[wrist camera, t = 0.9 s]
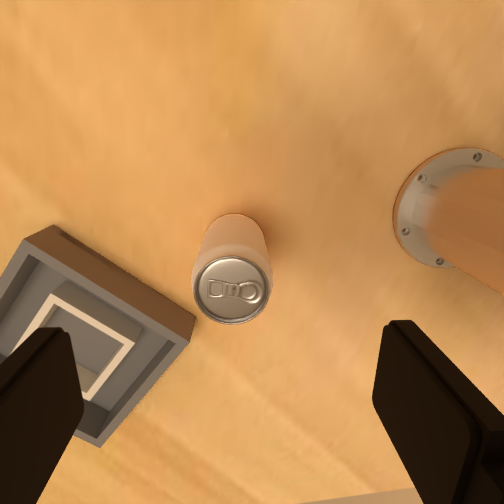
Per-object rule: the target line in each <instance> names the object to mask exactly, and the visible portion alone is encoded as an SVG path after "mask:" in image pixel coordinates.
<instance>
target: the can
mask: <svg viewBox="0 0 504 504" xmlns="http://www.w3.org/2000/svg"><path fill="white" fill-rule="evenodd" d="M191 286H192V291H193V294H194V298H195V301H196V304H197V306H198V307H199V309H200V310H201V311H202V312H203V313H204V314H205V315H206V316H207V317H208V318H210V319H212V320H214V321H216V322H218V323H222V324H228V325H235V324H241V323H245V322H248V321H250V320H252V319H253V318H255V317H256V316H258V315H259V314H260V313H261V312H262V310H263V309H264V308H265V306H266V304H267V302H268V299H269V296H270V294H271V291H272V287H273V275H272V269H271V265H270V260H269V256H268V252H267V248H266V243H265V239H264V236H263V233H262V231H261V229H260V227H259V226H258V225H257V223H256V222H255V221H253V220H252V219H250V218H249V217H247V216H244V215H240V214H228V215H224V216H221V217H219V218H218V219H216V220H215V221H214V222H213V223H212V224H211V225H210V226H209V227H208V229H207V231H206V233H205V236H204V238H203V241H202V244H201V247H200V250H199V252H198V255H197V258H196V261H195V264H194V267H193V271H192V276H191Z"/></svg>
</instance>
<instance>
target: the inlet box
mask: <svg viewBox="0 0 504 504" xmlns="http://www.w3.org/2000/svg"><path fill="white" fill-rule="evenodd" d="M195 318H196V317H195V316H194V315H192V314H191V313H189V312H188V311H186V310H185V309H183V308H182V307H180V306H178V305H177V304H175V303H174V302H172V301H171V300H169V299H168V298H166V297H164V296H163V295H161V294H160V293H158V292H157V291H155V290H154V289H152V288H151V287H149V286H147V285H146V284H144V283H143V282H141V281H140V280H138V279H137V278H135V277H133V276H132V275H130V274H129V273H127V272H126V271H124V270H123V269H121V268H120V267H118V266H116V265H115V264H113V263H112V262H110V261H109V260H107V259H106V258H104V257H102V256H101V255H99V254H98V253H96V252H95V251H93V250H92V249H90V248H89V247H87V246H85V245H84V244H82V243H81V242H79V241H78V240H76V239H75V238H73V237H71V236H70V235H68V234H67V233H65V232H64V231H62V230H61V229H59V228H58V227H56V226H54V225H51V226H49V227H47V228H45V229H43V230H41V231H39V232H37V233H35V234H33V235H30V236H28V237H26V238H24V239H23V240H22V242H21V243H20V245H19V247H18V249H17V250H16V252H15V254H14V255H13V257H12V259H11V260H10V262H9V264H8V265H7V267H6V269H5V270H4V272H3V274H2V275H1V277H0V364H1V363H2V362H3V361H4V360H5V359H6V358H7V357H8V356H9V355H10V354H11V353H12V352H13V351H14V350H15V349H16V348H17V347H18V346H19V345H20V344H22V343H23V342H24V341H25V340H26V339H27V338H28V337H29V336H30V335H31V334H32V333H33V332H34V331H35V330H36V329H37V328H40V327H61V328H62V329H63V330H64V332H68V333H69V334H70V338H71V343H72V347H73V352H74V357H75V362H76V367H77V372H78V377H79V382H80V386H81V391H82V396H83V401H84V413H83V417H82V419H81V421H80V423H79V425H78V426H77V428H76V430H75V432H74V434H73V435H74V436H76V437H78V438H80V439H82V440H84V441H86V442H89V443H91V444H93V445H95V446H97V447H99V448H101V446H102V445H103V444H104V443H105V442H106V440H107V439H108V438H109V437H110V436H111V435H112V433H113V432H114V431H115V430H116V429H117V427H118V426H119V425H120V424H121V423H122V422H123V420H124V419H125V418H126V417H127V416H128V414H129V413H130V412H131V411H132V410H133V409H134V407H135V406H136V405H137V404H138V403H139V401H140V400H141V399H142V398H143V397H144V396H145V394H146V393H147V392H148V391H149V390H150V388H151V387H152V386H153V385H154V384H155V383H156V381H157V380H158V379H159V378H160V377H161V375H162V374H163V373H164V372H165V371H166V370H167V368H168V367H169V366H170V365H171V364H172V362H173V361H174V360H175V359H176V358H177V357H178V355H179V354H180V353H181V352H182V351H183V349H184V348H185V347H186V346H187V345H188V344H189V342H190V339H191V335H192V331H193V327H194V322H195Z"/></svg>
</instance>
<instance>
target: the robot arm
mask: <svg viewBox="0 0 504 504" xmlns="http://www.w3.org/2000/svg"><path fill="white" fill-rule="evenodd" d="M419 176H420V178H419V179H418V177H419ZM393 222H394V230H395V234H396V237H397V240H398V241H399V243H400V245H401V246H402V248H403V249H404V250H405V251H406V252H407V253H408V254H409V255H410V256H411V257H413V258H414V259H415V260H417V261H419V262H421V263H423V264H425V265H428V266H431V267H436V268H453V267H457V268H459V269H460V270H462V271H464V272H465V273H467V274H469V275H470V276H472V277H474V278H475V279H477V280H479V281H480V282H482V283H484V284H485V285H487V286H488V287H490V288H492V289H493V290H495V291H497V292H498V293H500V294H502V295H503V296H504V160H503V159H502V158H501V157H499V156H498V155H496V154H494V153H492V152H490V151H487V150H482V149H478V148H458V149H452V150H448V151H445V152H441V153H439V154H437V155H435V156H433V157H431V158H430V159H428V160H427V161H425V162H424V163H423V164H421V165H420V166H419V167H418V168H417V169H416V170H415V171H414V172H413V173H412V174H411V175H410V176H409V178H408V179H407V180H406V182H405V183H404V185H403V186H402V188H401V190H400V192H399V195H398V197H397V200H396V204H395V207H394V216H393ZM403 229H404V230H403ZM402 230H403V231H402ZM372 401H373V405H374V408H375V410H376V412H377V414H378V416H379V418H380V420H381V422H382V424H383V426H384V428H385V430H386V432H387V433H388V435H389V437H390V439H391V441H392V443H393V445H394V447H395V449H396V451H397V453H398V455H399V457H400V459H401V461H402V463H403V464H404V466H405V468H406V470H407V472H408V474H409V476H410V478H411V480H412V482H413V484H414V486H415V488H416V489H417V491H418V493H419V495H420V497H421V499H422V501H423V503H424V504H504V415H503V414H502V413H501V412H500V411H499V410H498V409H497V408H496V407H495V406H494V405H493V404H492V403H491V402H490V401H489V400H488V399H487V398H486V397H485V395H484V394H483V393H482V392H481V391H480V390H479V389H478V388H477V387H476V386H475V385H474V384H473V383H472V382H471V381H470V380H469V379H468V378H467V377H466V376H465V375H464V374H463V373H462V372H461V371H460V370H459V369H458V367H457V366H456V365H455V364H454V363H453V362H452V361H451V360H450V359H449V358H448V357H447V356H446V355H445V354H444V353H443V352H442V351H441V350H440V349H439V348H438V347H437V346H436V345H435V344H434V343H433V342H432V341H431V339H430V338H429V337H428V336H427V335H426V334H425V333H424V332H423V331H422V330H421V329H420V328H419V327H418V326H417V325H416V324H415V323H414V322H413V321H412V320H392V321H390V323H389V325H386V326H384V328H383V333H382V339H381V345H380V351H379V357H378V363H377V369H376V376H375V382H374V388H373V394H372ZM83 413H84V401H83V396H82V391H81V386H80V382H79V377H78V372H77V367H76V362H75V357H74V352H73V347H72V343H71V338H70V334H69V333H68V332H64V330H63V329H62V328H61V327H40V328H37V329H36V330H35V331H34V332H33V333H32V334H31V335H30V336H29V337H28V338H27V339H26V340H25V341H24V342H23V343H22V344H20V345H19V346H18V347H17V348H16V349H15V350H14V351H13V352H12V353H11V354H10V355H9V356H8V357H7V358H6V359H5V360H4V361H3V362H2V363H1V364H0V504H36V503H37V501H38V499H39V497H40V495H41V493H42V492H43V490H44V488H45V486H46V484H47V482H48V480H49V479H50V477H51V475H52V473H53V471H54V469H55V467H56V465H57V464H58V462H59V460H60V458H61V456H62V454H63V452H64V451H65V449H66V447H67V445H68V443H69V441H70V439H71V438H72V436H73V434H74V432H75V430H76V428H77V426H78V425H79V423H80V421H81V419H82V417H83Z"/></svg>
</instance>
